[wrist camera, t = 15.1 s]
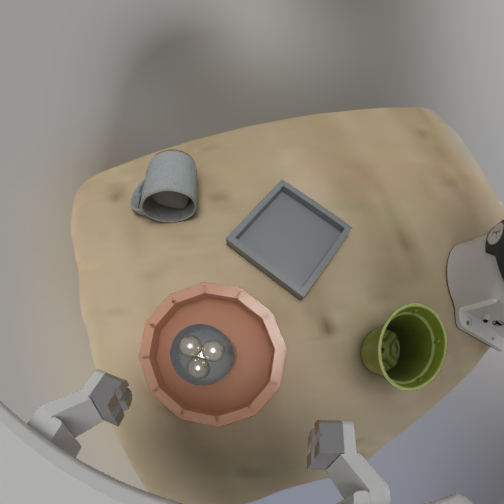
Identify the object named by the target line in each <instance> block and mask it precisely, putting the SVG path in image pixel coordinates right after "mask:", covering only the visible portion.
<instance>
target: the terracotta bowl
mask: <svg viewBox="0 0 504 504" xmlns="http://www.w3.org/2000/svg"><path fill="white" fill-rule="evenodd" d="M194 324H206V325H210V326H213V327H215V328H217V329H218V330H220V331H221V332H222V333H223V334H224V335H225V336H226V337H228V338H229V339H230V340H231V341H232V343H233V344H234V346H235V348H236V352H237V359H236V363H235V365H234V367H233V369H232V370H231V371H230V372H229V373H228V374H227V375H226V376H224V377H223V378H222V379H221V380H219V381H218V382H216V383H214V384H210V385H205V386H200V385H194V384H191V383H189V382H187V381H185V380H184V379H182V378H181V377H180V376H179V375H178V374H177V373H176V371H175V370H174V368H173V366H172V363H171V359H170V348H171V344H172V342H173V340H174V338H175V337H176V335H177V334H178V333H179V332H180V331H181V330H183V329H184V328H186V327H188V326H191V325H194ZM285 355H286V345H285V343H284V340H283V338H282V335H281V333H280V331H279V328H278V326H277V323H276V321H275V319H274V316H273V314H272V313H271V311H270V310H269V309H267V308H266V307H265V306H263V305H262V304H261V303H260V302H258V301H257V300H256V299H254V298H253V297H252V296H251V295H249V294H248V293H247V292H245V291H244V290H243V289H241V288H236V287H230V286H224V285H218V284H212V283H206V282H205V283H201V284H198V285H195V286H192V287H189V288H187V289H184V290H181V291H178V292H175V293H172V294H170V295H169V296H168V297H167V298H166V299H165V300H164V301H163V302H162V304H161V305H160V306H159V307H158V308H157V309H156V310H155V312H154V313H153V314H152V315H151V316H150V317H149V319H148V320H147V321H146V323H145V328H144V333H143V338H142V343H141V348H140V354H139V359H140V363H141V366H142V369H143V372H144V375H145V378H146V380H147V383H148V386H149V389H150V392H152V394H153V395H154V396H155V397H156V398H157V399H158V400H159V401H160V402H161V403H163V404H164V405H165V406H166V407H167V408H168V409H169V410H170V411H172V412H173V413H174V414H175V415H176V416H177V417H179V418H180V419H184V420H188V421H192V422H197V423H201V424H206V425H211V426H216V427H220V426H223V425H226V424H230V423H233V422H236V421H239V420H242V419H245V418H248V417H251V416H254V415H255V414H257V413H258V412H259V410H260V409H261V408H262V407H263V406H264V405H265V404H266V402H267V401H268V400H269V399H270V398H271V397H272V395H273V394H274V393H275V392H276V391H277V390H278V388H279V387H280V385H281V381H282V375H283V368H284V362H285Z"/></svg>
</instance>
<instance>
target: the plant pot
mask: <svg viewBox="0 0 504 504" xmlns="http://www.w3.org/2000/svg"><path fill="white" fill-rule="evenodd" d="M384 332H385V334H384ZM395 344H397V353H395ZM382 348H383V349H384V352H381V349H382ZM446 351H447V336H446V331H445V328H444V325H443V323H442V321H441V319H440V317H439V316H438V315H437V314H436V312H435V311H433V310H432V309H431V308H430V307H428V306H426V305H423V304H418V303H412V304H407V305H405V306H402V307H401V308H399V309H397V310H396V311H395V312H394V313H393V314H392V315H391V316H390V317H389V318H388V319H387V321H386V322H385V324H383V325H381V326H380V327H378V328H376V329H375V330H373V331H372V332H370V333H369V334H368V335H367V337H366V338H365V340H364V341H363V344H362V348H361V357H362V361H363V363H364V365H365V366H366V367H367V368H368V369H369V370H370V371H371V372H374V373H376V374H378V375H381V376H383V377H385V379H386V380H387V381H388V382H389V383H390V384H391V385H392V386H394V387H396V388H398V389H400V390H404V391H412V390H417V389H420V388H422V387H424V386H426V385H427V384H428V383H430V382H431V381H432V380H433V379H434V378H435V376H436V375H437V374H438V372H439V371H440V369H441V367H442V365H443V363H444V360H445V356H446ZM384 366H386V368H385V369H384Z"/></svg>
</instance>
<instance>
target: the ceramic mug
mask: <svg viewBox="0 0 504 504" xmlns="http://www.w3.org/2000/svg"><path fill="white" fill-rule="evenodd" d="M141 195H142V196H141ZM140 197H141V201H140ZM139 201H140V208H141V209H139V208H138V206H139ZM131 208H132V209H133V210H134V211H135V212H137V213H138V214H140V215H146V216H147V217H149V218H151V219H153V220H156V221H160V222H179V221H183V220H186V219H188V218H190V217H191V216H192V215H193V214H194V213H195V212H196V209H197V169H196V165H195V162H194V160H193V158H192V157H191V156H190V155H189V154H187V153H185V152H183V151H180V150H165V151H162V152H159V153H158V154H156V155H155V156H154V157H153V158H152V160H151V161H150V163H149V165H148V168H147V172H146V178H145V180H143V181H142V182H141V183H140V184H139V185H138V186H137V188H136V189H135V191H134V193H133V195H132V198H131Z"/></svg>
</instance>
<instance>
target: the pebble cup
mask: <svg viewBox="0 0 504 504" xmlns="http://www.w3.org/2000/svg"><path fill="white" fill-rule="evenodd" d="M170 359H171V363H172V366H173V368H174V370H175V371H176V373H177V374H178V375H179V376H180V377H181V378H182V379H184V380H185V381H187V382H189V383H191V384H194V385H200V386H205V385H210V384H214V383H216V382H218V381H219V380H221V379H222V378H223V377H224V376H226V375H227V374H228V373H229V372H230V371H231V370H232V369H233V367H234V365H235V363H236V359H237V352H236V348H235V346H234V344H233V343H232V341H231V340H230V339H229V338H228V337H226V336H225V335H224V334H223V333H222V332H221V331H220V330H218V329H217V328H215V327H213V326H210V325H206V324H194V325H191V326H188V327H186V328H184V329H183V330H181V331H180V332H179V333H178V334H177V335H176V337H175V338H174V340H173V342H172V344H171V348H170Z"/></svg>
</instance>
